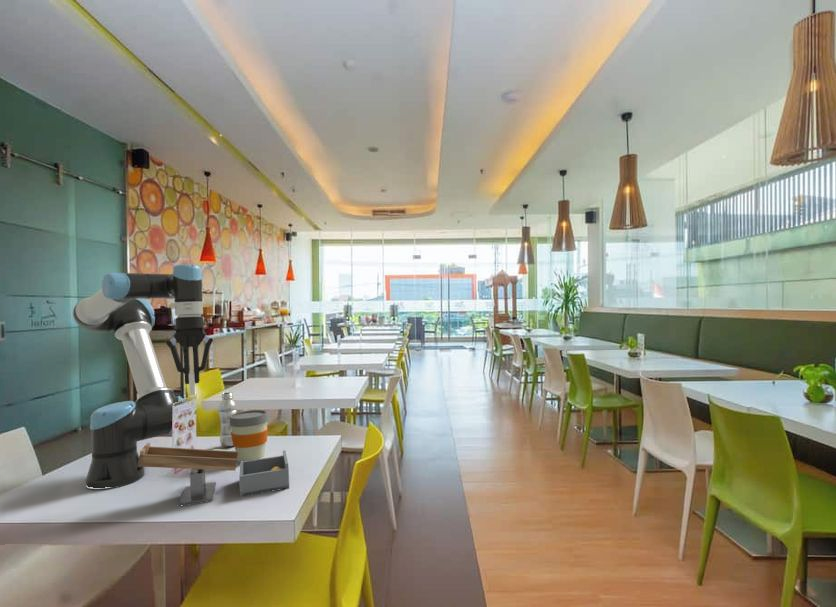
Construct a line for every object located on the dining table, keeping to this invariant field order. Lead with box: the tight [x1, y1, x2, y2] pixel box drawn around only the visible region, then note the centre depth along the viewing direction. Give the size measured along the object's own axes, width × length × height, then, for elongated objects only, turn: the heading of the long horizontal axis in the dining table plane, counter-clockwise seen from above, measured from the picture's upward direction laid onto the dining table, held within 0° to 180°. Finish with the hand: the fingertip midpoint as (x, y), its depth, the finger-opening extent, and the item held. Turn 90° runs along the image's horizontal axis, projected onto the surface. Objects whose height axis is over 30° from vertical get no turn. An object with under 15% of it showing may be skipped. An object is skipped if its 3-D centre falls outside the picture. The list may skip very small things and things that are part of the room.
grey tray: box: [238, 450, 290, 497], centre depth 132 cm, size 13×13×7 cm
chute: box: [137, 442, 238, 474], centre depth 129 cm, size 17×24×5 cm
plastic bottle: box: [217, 391, 238, 448], centre depth 171 cm, size 6×7×20 cm
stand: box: [178, 469, 217, 507], centre depth 127 cm, size 12×8×7 cm, turn 20°
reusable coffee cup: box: [230, 409, 269, 462], centre depth 157 cm, size 13×12×15 cm
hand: (192, 394), depth 136 cm, fingers closed
